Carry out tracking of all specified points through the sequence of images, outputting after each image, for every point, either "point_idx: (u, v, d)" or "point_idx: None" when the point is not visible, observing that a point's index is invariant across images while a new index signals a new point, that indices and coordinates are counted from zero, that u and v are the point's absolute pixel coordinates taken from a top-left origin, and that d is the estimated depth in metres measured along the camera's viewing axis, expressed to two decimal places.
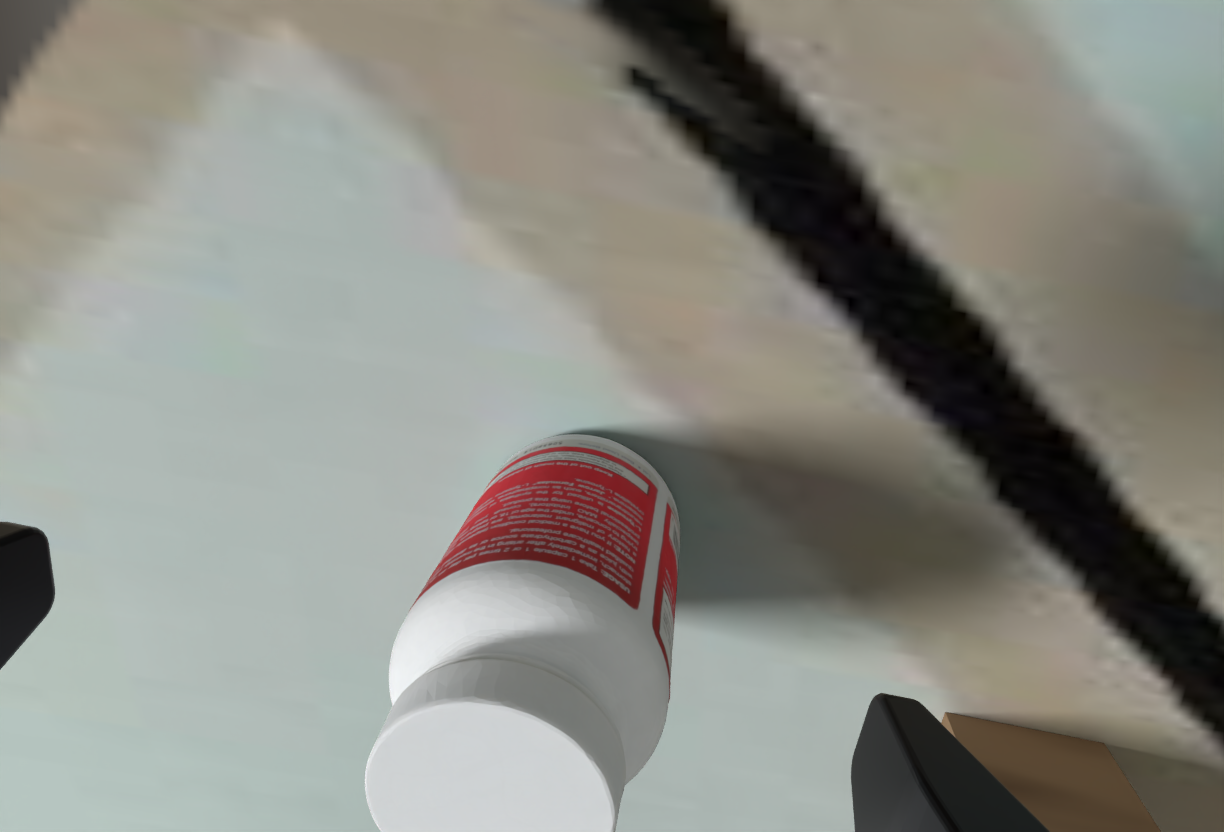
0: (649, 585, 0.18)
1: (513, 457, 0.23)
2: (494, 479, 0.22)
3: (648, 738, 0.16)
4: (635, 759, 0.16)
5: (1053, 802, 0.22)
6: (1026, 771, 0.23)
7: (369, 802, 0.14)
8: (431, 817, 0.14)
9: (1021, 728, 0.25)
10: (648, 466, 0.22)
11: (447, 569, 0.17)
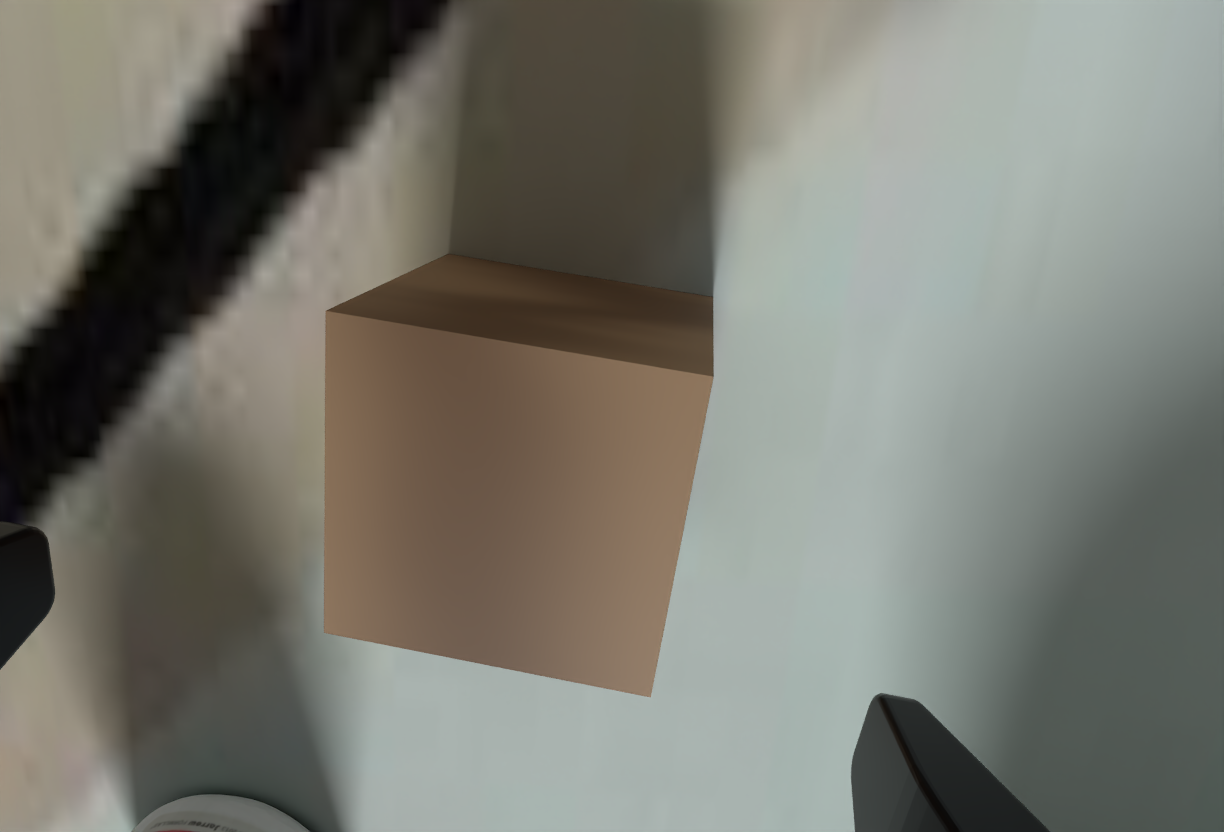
0: None
1: None
2: None
3: None
4: None
5: None
6: None
7: None
8: None
9: None
10: None
11: None
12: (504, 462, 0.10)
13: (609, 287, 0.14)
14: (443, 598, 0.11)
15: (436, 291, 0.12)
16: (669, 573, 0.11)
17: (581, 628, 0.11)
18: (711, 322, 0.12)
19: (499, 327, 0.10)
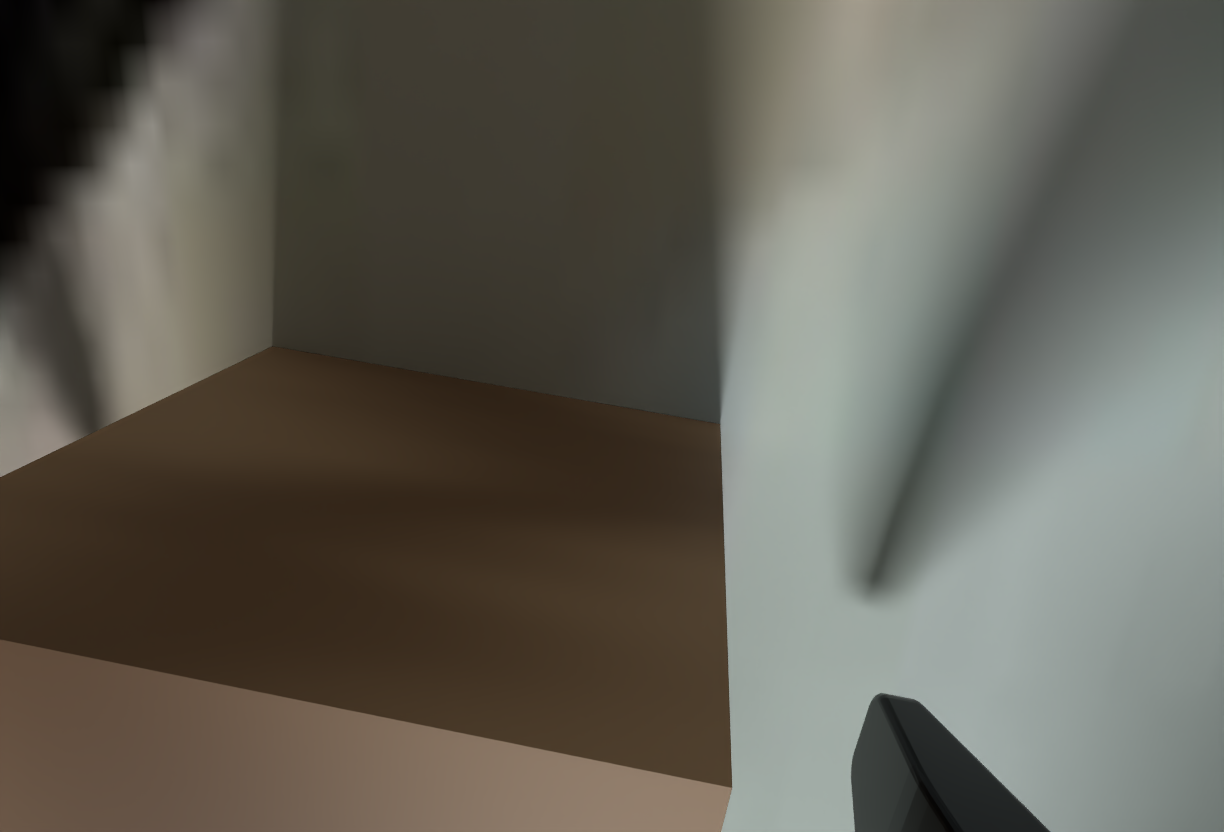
0: None
1: None
2: None
3: None
4: None
5: None
6: None
7: None
8: None
9: None
10: None
11: None
12: None
13: (538, 414, 0.08)
14: None
15: (161, 466, 0.06)
16: None
17: None
18: (719, 509, 0.06)
19: (223, 603, 0.04)
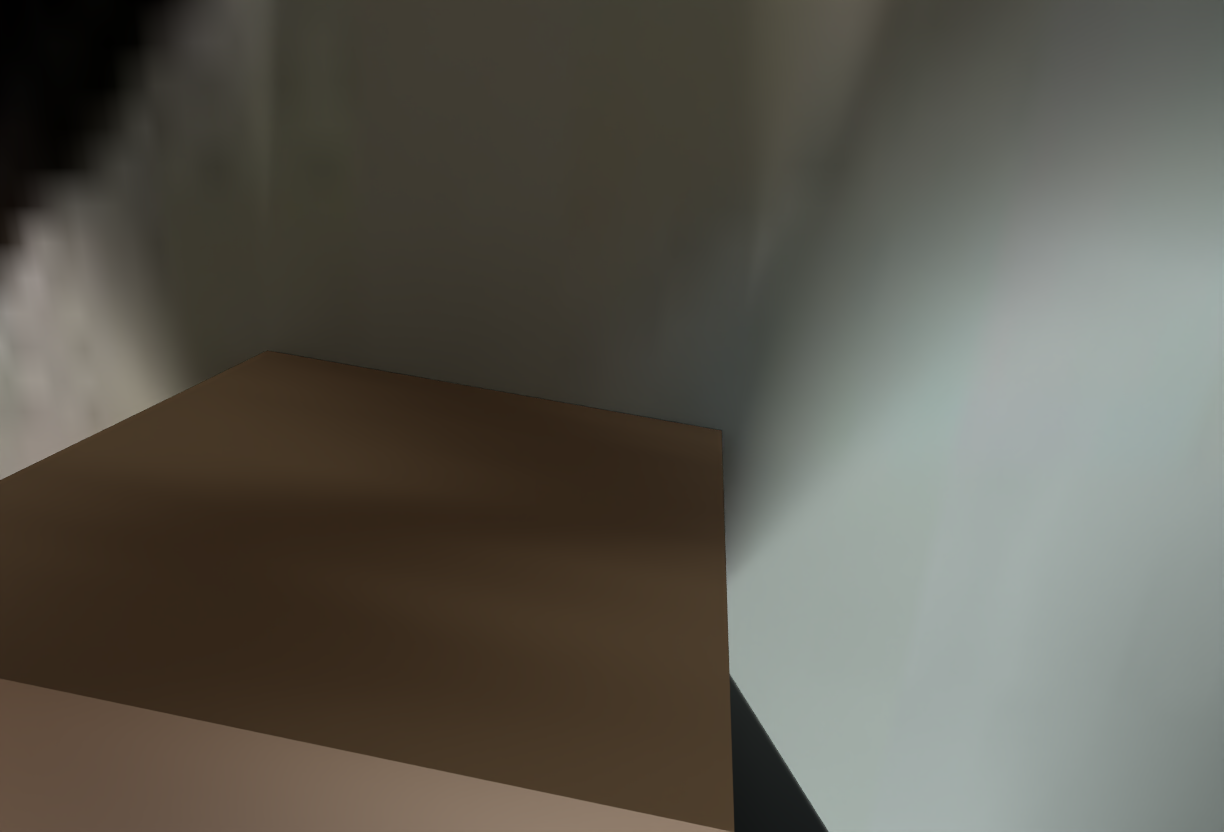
0: None
1: None
2: None
3: None
4: None
5: None
6: None
7: None
8: None
9: None
10: None
11: None
12: None
13: (535, 423, 0.08)
14: None
15: (143, 480, 0.06)
16: None
17: None
18: (721, 524, 0.06)
19: (200, 630, 0.04)
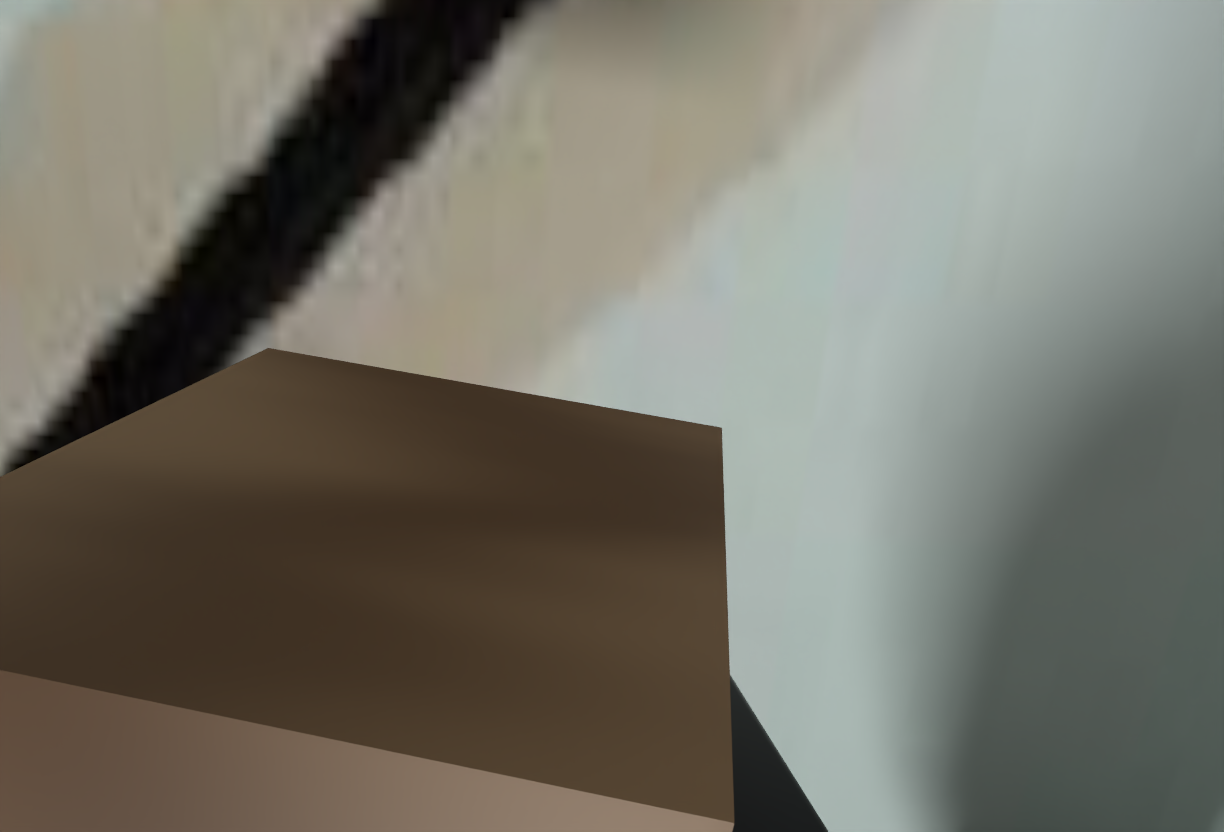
0: None
1: None
2: None
3: None
4: None
5: None
6: None
7: None
8: None
9: None
10: None
11: None
12: None
13: (535, 421, 0.08)
14: None
15: (145, 476, 0.06)
16: None
17: None
18: (721, 520, 0.06)
19: (204, 624, 0.04)
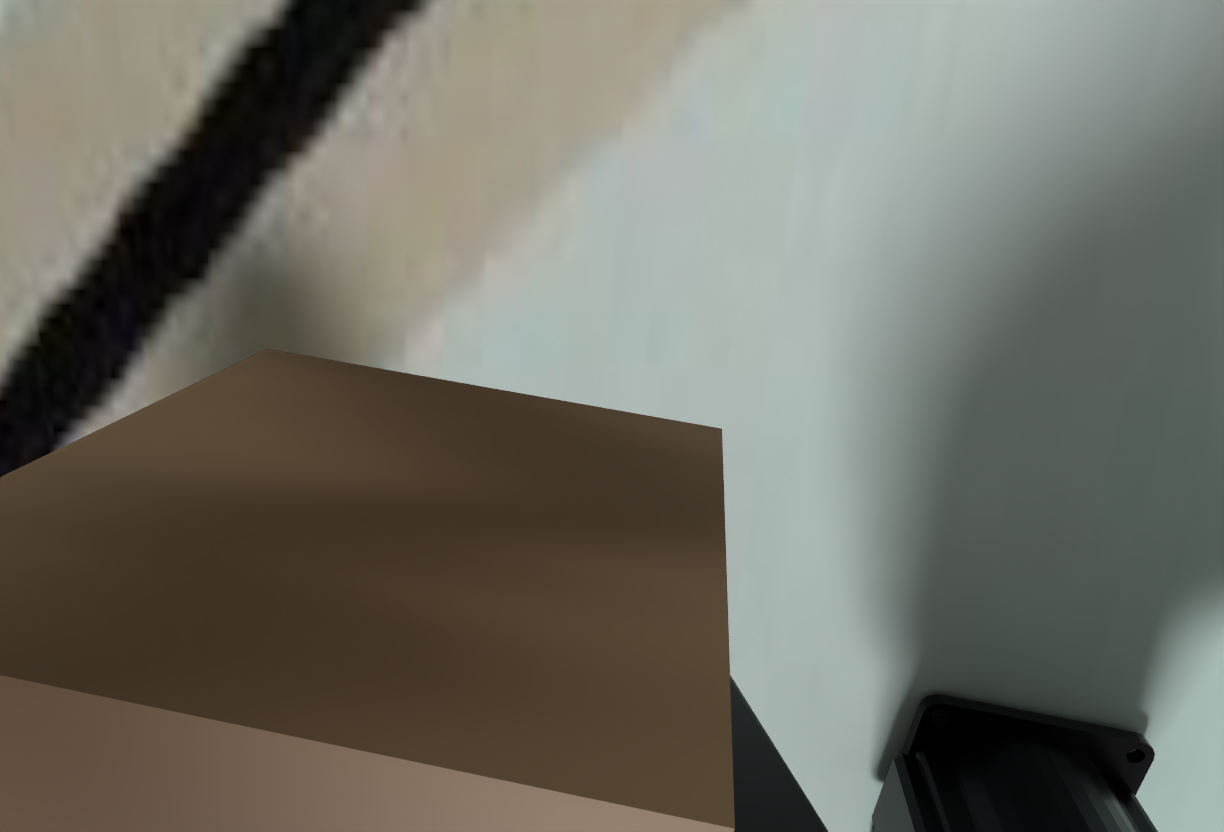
0: None
1: None
2: None
3: None
4: None
5: None
6: None
7: None
8: None
9: None
10: None
11: None
12: None
13: (535, 422, 0.08)
14: None
15: (143, 478, 0.06)
16: None
17: None
18: (721, 522, 0.06)
19: (202, 627, 0.04)
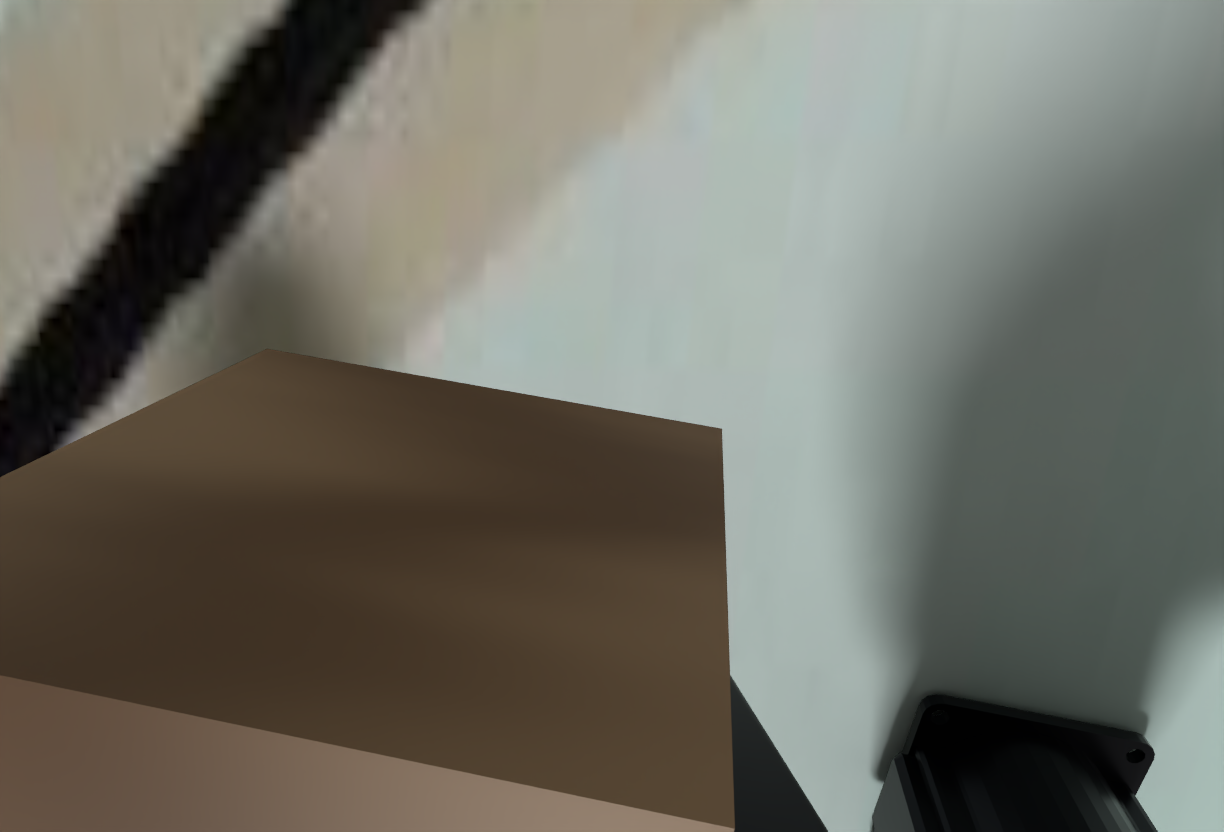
0: None
1: None
2: None
3: None
4: None
5: None
6: None
7: None
8: None
9: None
10: None
11: None
12: None
13: (535, 422, 0.08)
14: None
15: (143, 478, 0.06)
16: None
17: None
18: (721, 522, 0.06)
19: (201, 627, 0.04)
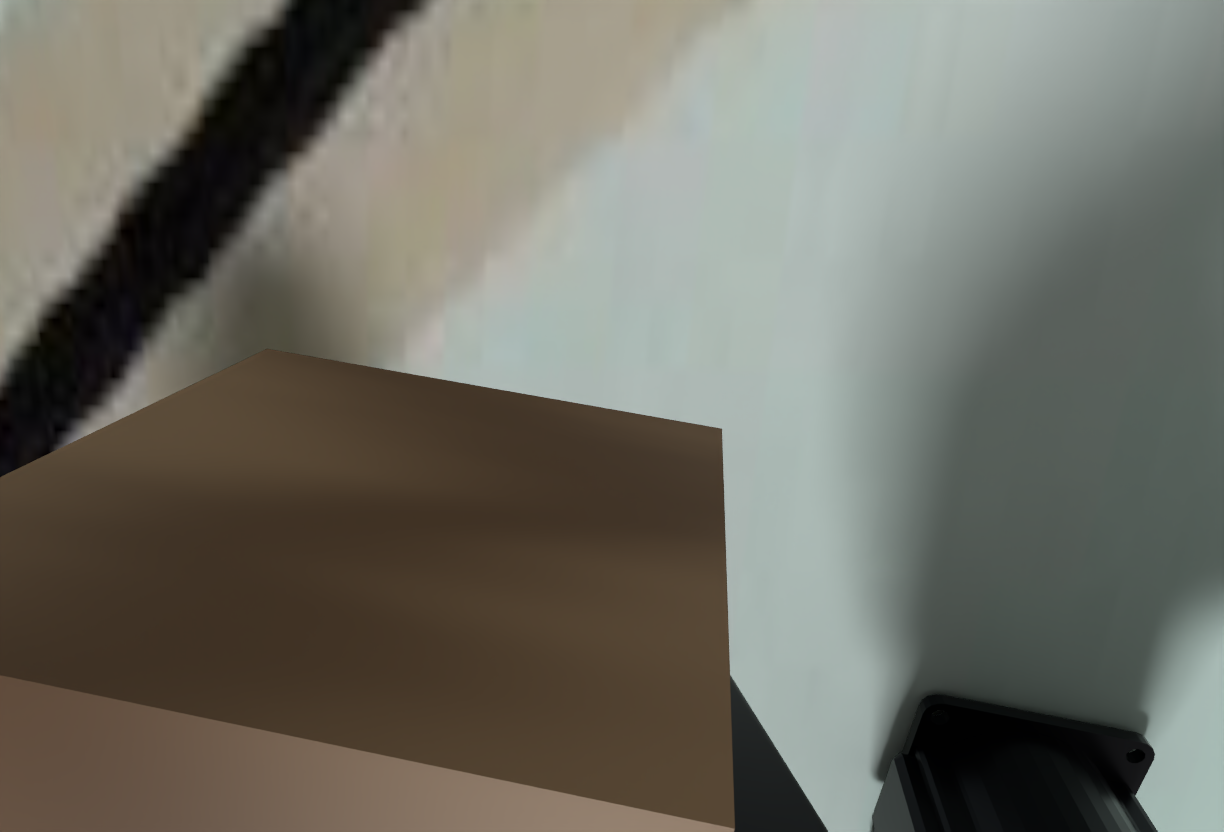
0: None
1: None
2: None
3: None
4: None
5: None
6: None
7: None
8: None
9: None
10: None
11: None
12: None
13: (535, 422, 0.08)
14: None
15: (143, 478, 0.06)
16: None
17: None
18: (721, 522, 0.06)
19: (201, 627, 0.04)
